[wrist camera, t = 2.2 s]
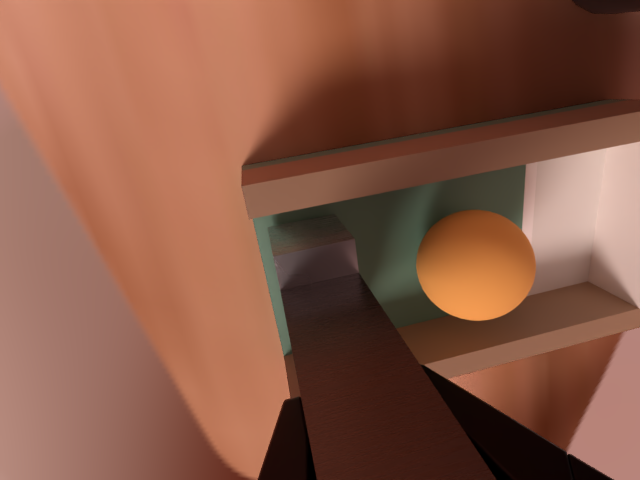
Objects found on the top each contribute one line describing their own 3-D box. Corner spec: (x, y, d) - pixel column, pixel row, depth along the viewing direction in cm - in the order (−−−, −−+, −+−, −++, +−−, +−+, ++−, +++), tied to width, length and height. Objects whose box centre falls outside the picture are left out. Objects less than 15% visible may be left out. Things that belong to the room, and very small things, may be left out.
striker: (349, 322, 16) (531, 705, 6) (290, 336, 15) (377, 766, 5) (334, 213, 14) (563, 501, 4) (267, 227, 13) (333, 576, 4)
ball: (488, 277, 16) (559, 328, 13) (402, 297, 16) (450, 356, 12) (491, 189, 15) (571, 218, 11) (396, 208, 14) (448, 245, 11)
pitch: (582, 285, 19) (720, 362, 14) (285, 359, 17) (305, 483, 12) (607, 99, 16) (806, 99, 10) (241, 165, 14) (241, 210, 8)
